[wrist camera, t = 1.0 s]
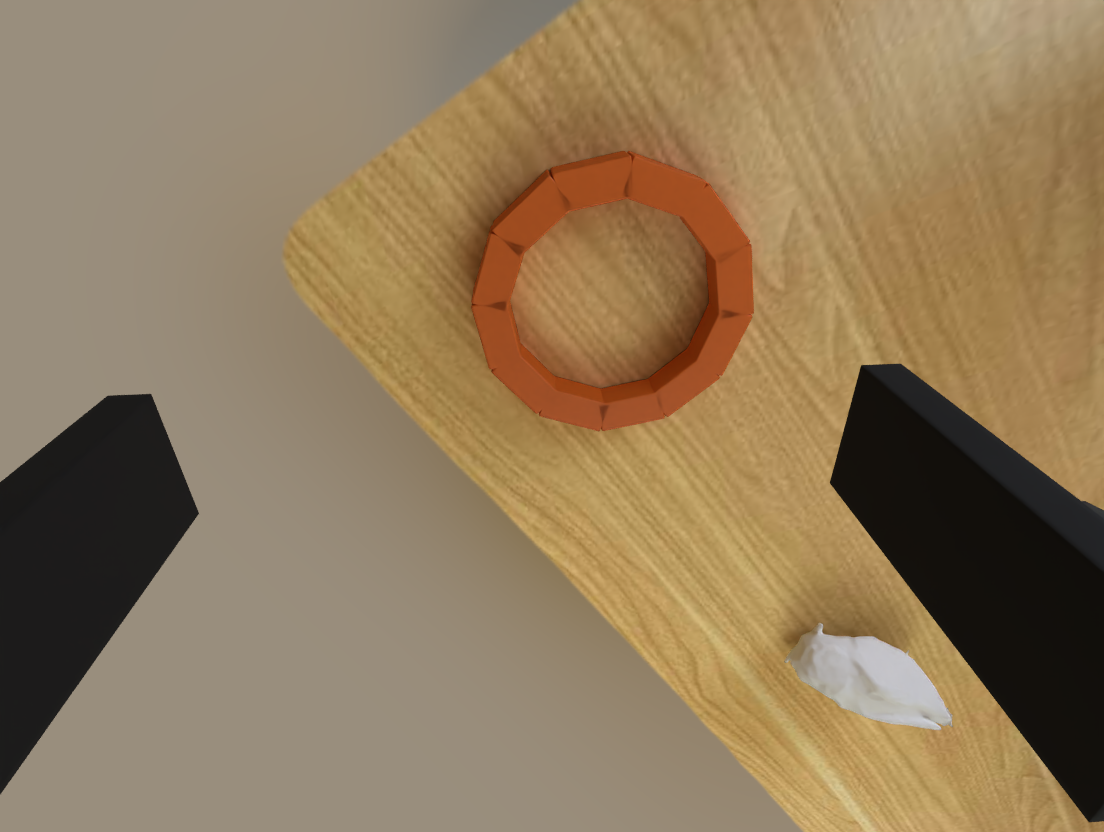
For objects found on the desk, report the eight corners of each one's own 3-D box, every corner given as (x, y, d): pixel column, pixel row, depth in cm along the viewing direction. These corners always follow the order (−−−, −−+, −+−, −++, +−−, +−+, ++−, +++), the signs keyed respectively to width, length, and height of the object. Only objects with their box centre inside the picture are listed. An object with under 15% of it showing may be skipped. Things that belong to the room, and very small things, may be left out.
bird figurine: (913, 612, 43) (809, 618, 39) (982, 711, 38) (872, 729, 34) (867, 645, 46) (766, 654, 42) (926, 741, 41) (818, 761, 37)
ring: (521, 111, 24) (522, 114, 23) (789, 209, 27) (805, 216, 25) (449, 377, 30) (446, 392, 28) (675, 436, 32) (682, 453, 31)
